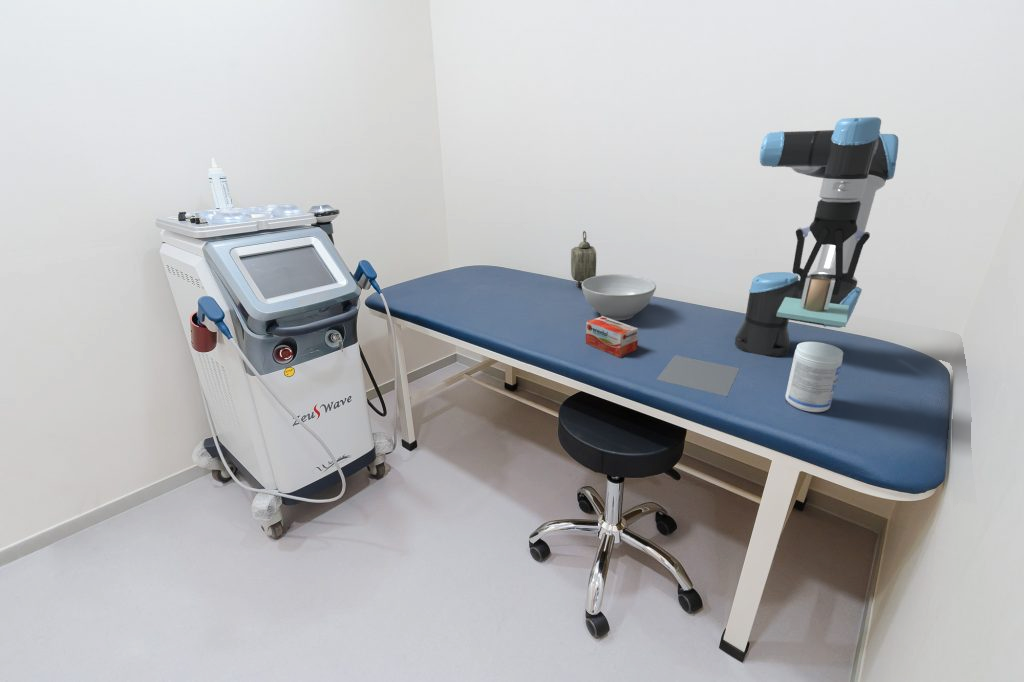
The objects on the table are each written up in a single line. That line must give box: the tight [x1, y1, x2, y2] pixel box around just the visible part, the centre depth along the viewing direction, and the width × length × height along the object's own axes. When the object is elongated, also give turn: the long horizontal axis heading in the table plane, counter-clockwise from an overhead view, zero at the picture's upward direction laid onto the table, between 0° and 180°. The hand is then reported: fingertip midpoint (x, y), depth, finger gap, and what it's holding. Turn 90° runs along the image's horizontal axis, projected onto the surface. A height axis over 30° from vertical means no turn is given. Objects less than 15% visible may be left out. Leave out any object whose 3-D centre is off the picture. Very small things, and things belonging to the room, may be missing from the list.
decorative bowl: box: [581, 274, 657, 321], centre depth 172 cm, size 27×27×12 cm
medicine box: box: [585, 316, 639, 359], centre depth 147 cm, size 15×8×8 cm, turn 38°
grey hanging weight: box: [570, 230, 597, 288], centre depth 204 cm, size 14×9×25 cm, turn 1°
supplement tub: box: [785, 341, 844, 413], centre depth 111 cm, size 10×10×15 cm
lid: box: [776, 277, 849, 328], centre depth 104 cm, size 13×13×8 cm
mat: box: [656, 354, 740, 397], centre depth 128 cm, size 18×18×1 cm
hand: (814, 305), depth 105 cm, fingers closed on lid, 4 cm apart
